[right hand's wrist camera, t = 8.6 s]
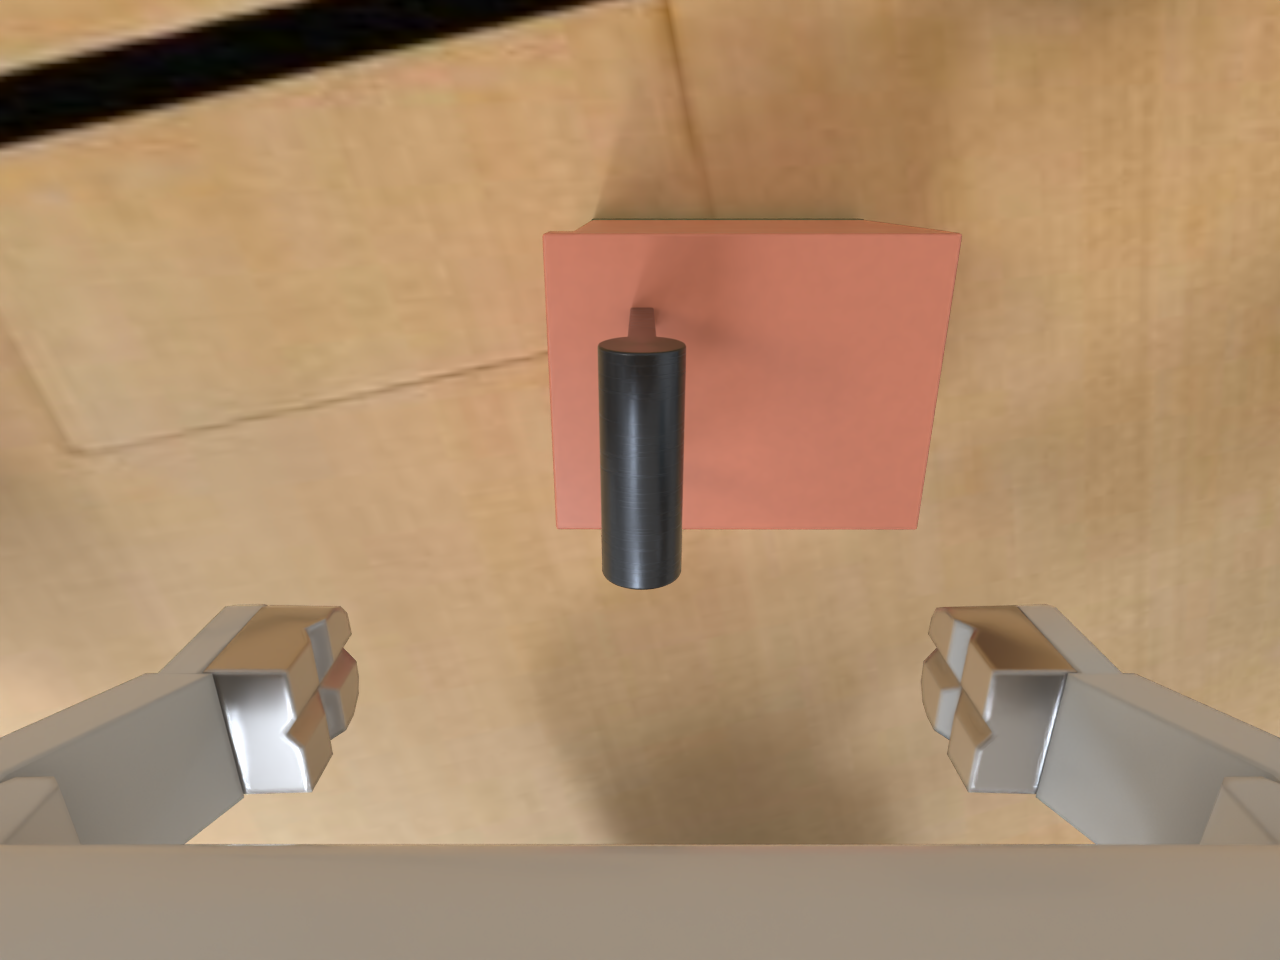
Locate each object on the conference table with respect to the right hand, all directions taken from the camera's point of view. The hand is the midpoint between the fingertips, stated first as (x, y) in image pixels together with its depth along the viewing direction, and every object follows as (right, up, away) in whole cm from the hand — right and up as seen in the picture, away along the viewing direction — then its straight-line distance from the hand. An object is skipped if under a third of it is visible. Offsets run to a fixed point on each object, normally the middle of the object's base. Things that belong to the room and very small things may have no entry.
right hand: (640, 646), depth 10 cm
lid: (+3, +5, +14) cm, 15 cm away
